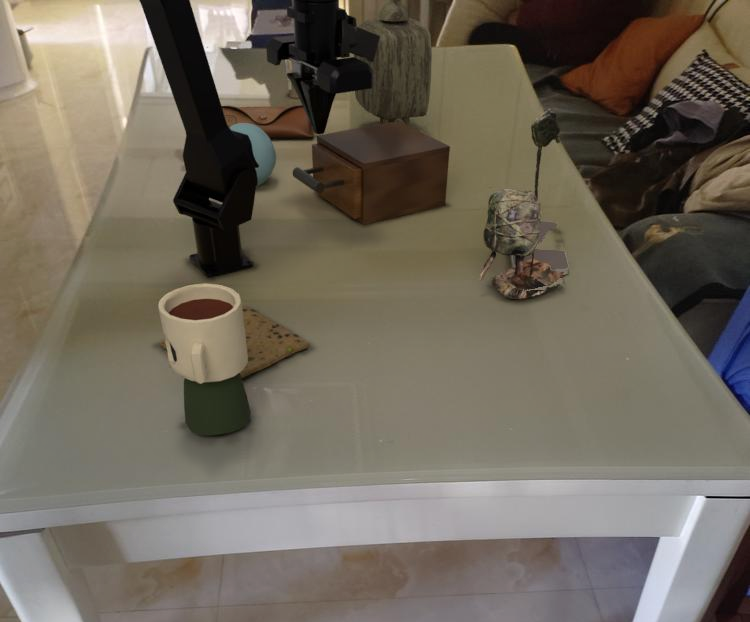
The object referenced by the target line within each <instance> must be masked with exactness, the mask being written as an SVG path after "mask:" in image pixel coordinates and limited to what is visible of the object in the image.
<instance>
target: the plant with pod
mask: <svg viewBox="0 0 750 622" xmlns="http://www.w3.org/2000/svg"><path fill="white" fill-rule="evenodd" d="M560 128H561V127H560V124H559V122H558V118H557V113H556V112H555V110H553V109H551V108H548V109H547V110H545V111H544V112H543V113H541V114H540V115H538V116H537V117H536V118H535V119H534V120H533V121H532V123H531V126H530V129H531V130H530V131H531V139H532V141H533V144H534V145H535V147H537V151H536V164H535V173H534V192H533V191H532V190H517V189H511V188H504V189H500V190H498V191H495V192H493V193H491V194H490V195H489V199H488V203H487V204H488V205H487V207H488V208H487V219H486V224H485V226H484V230H483V234H482V235H483V242H484V245H485V247H486V248H488V249H489V250H490V251H491V253H490V255H489V256H488V257H489V258H488V259H486V262H485V263H484V264H483V269H482V271H481V274H480V276H479V278H478V281H482V280H483V279H484V277H485V275H486V274H487V271H488V270H489V269H490V267H491V266H492V264H493V263H494V260H495V259H496V257H497V253H498V254H500V255H502V256H510V255H514V257H515V263H516V267H515V268H513V267H512V266H511V267H509V268H506V269H505V270H503V271H502V272H498V273H497V274H495V276H493V277H491V278H492V280H491V283H493V285H494V287H495V288H496V289H497V291H498V292H500V294H502V295H503V296H504V297H505V298H508V299H513V300H517V299H518V300H522V299H527V298H531V297H535V296H541V295H542V294H543V293H545V292H546V291H544V290H530V291H525V290H527V289H528V290H529V289H535V288H538V287H543V286H550V285H553V284H555V283H557V280H559V279H560V278H563V277H564V275H563V273H564V272H560V273H559V272H557V271H555V269H553V267H552V268H550V267H549V266H548V264H547V263H540V262H539V261H538V260H535V259H534V251H535V248H536V243H537V240H538V233H539V231H540V229H539V226H540V221H541V218H542V213H543V211H542V208H541V205H542V204H541V200H540V199H539V197H538V196H539V190H538V188H539V178H540V165H541V160H542V150H543V148H546V147H548V146H549V145H550V144H551V143H552V142H553V141H555V143H556V144H560V143H561V140H560V136H559V134H560V133H561V131H560V130H561V129H560ZM488 189H489V190H491V189H493V187H492V186H489V188H488ZM531 254H532V259H529V260H526V261H524V262H523V260H524V257H525V256H529V255H531ZM523 289H524V292H522V291H523ZM538 291H539V292H538Z"/></svg>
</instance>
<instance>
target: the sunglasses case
mask: <svg viewBox="0 0 750 622" xmlns="http://www.w3.org/2000/svg"><path fill="white" fill-rule="evenodd" d="M221 106H222V109H223V113H224V116H225V119H226V122H227V124H228V126H229V127H231V126H232V125H234V124H238V123H249V124H253V125H256V126H258V127H259V128H261V129H262V130H263V131H264V132H265V133H266V134H267V135H268V137H269V138H270V140H271V141H272V140H274V141H275V140H276V141H280V140H283V141H285V140H297V139H303V138H313V137H314V130H313V127H312V125H311V123H310V121H309V118H308V116H307V114H306V112H305V110H304V107H303V105H302V104H299V105H292V106H291V105H290V106H235V105H221Z"/></svg>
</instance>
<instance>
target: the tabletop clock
mask: <svg viewBox="0 0 750 622" xmlns="http://www.w3.org/2000/svg"><path fill="white" fill-rule="evenodd" d="M399 2H401V0H390V2H388V3H385V4H384V5H383V6H382V7H381V9H380V11H379V14H378V18H376V19H366V20H364V21H363V22H362V23H361V24H360V25H357V27H358V28H361V29H364V30H366V31H369V32H371V33H374V34H377V35H379V36H380V40H379V44H378V47H377V51H376V54H375V58H374V61H373V62H371V61H368V60H367V59H366V58H365V57H360V56H357V55H355V54H353V57H354V58H356V59H359V60H361V61H363V62H366V63H368V65H369V66H370V67H371V68H372V69H373V88H372V89H365V90H358V91H354V93H355V99H356V101H357V103H358V104H359V105H360V106H361V107H362V108H363V109H364V110H365V111H366V112H367V113H369V114H371V115H373V116H375V117H377V118H379V123H378V125H379V124H384V121H387V123H390V122H395V121H397V120H399V119H400V120H401V121H402V122H403V123H404V124H406V125H408V126H410V127H412V128H413V126H412V123H411V119H410V118H418V117H424V116H427V113H428V110H429V104H430V103H429V102H430V95H431V82H432V64H433V63H432V62H433V59H432V58H433V54H432V53H433V51H432V49H433V48H432V47H433V46H432V36H431V33H430V30H429V29H428V28H427V27H426V25H424V24H423V23H422V22H420V21H419V20H417V19H414V18H411V17H409V13H408V10H407V8H406V7H405V6H404V5H403V4H402V3H399Z"/></svg>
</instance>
